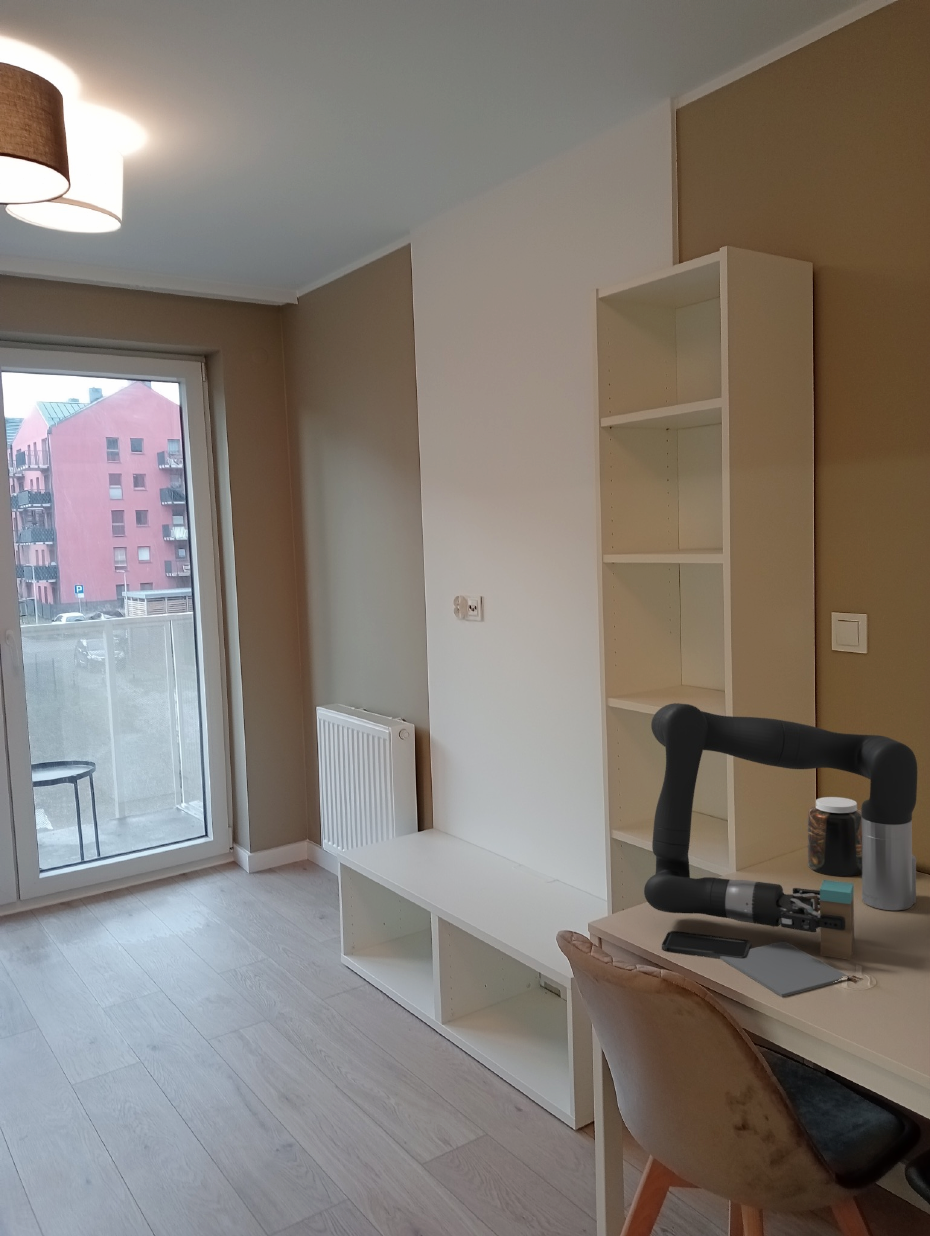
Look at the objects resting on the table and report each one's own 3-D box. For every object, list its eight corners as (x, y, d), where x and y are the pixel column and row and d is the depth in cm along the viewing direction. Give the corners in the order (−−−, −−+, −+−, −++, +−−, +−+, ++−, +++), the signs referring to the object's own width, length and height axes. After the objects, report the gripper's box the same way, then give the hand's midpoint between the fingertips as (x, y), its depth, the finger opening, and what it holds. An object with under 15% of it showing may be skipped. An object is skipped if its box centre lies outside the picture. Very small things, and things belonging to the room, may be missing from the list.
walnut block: (824, 944, 174) (823, 879, 173) (854, 948, 172) (853, 883, 171) (820, 955, 170) (819, 889, 169) (850, 959, 167) (850, 893, 166)
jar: (829, 879, 206) (828, 811, 204) (798, 862, 217) (797, 797, 216) (877, 873, 208) (876, 805, 207) (844, 856, 220) (843, 792, 218)
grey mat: (783, 943, 175) (783, 941, 175) (849, 979, 160) (849, 976, 160) (720, 958, 170) (720, 956, 170) (782, 997, 155) (781, 994, 155)
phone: (669, 930, 181) (751, 940, 175) (669, 936, 181) (751, 946, 175) (660, 947, 174) (745, 958, 168) (660, 953, 174) (745, 964, 168)
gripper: (745, 895, 170) (843, 908, 163) (761, 870, 183) (852, 881, 175) (746, 936, 171) (843, 951, 163) (762, 908, 183) (853, 920, 176)
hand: (848, 915), depth 169 cm, fingers open, 8 cm apart
